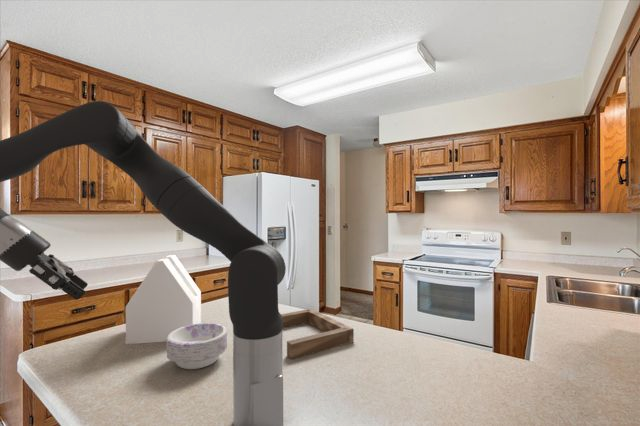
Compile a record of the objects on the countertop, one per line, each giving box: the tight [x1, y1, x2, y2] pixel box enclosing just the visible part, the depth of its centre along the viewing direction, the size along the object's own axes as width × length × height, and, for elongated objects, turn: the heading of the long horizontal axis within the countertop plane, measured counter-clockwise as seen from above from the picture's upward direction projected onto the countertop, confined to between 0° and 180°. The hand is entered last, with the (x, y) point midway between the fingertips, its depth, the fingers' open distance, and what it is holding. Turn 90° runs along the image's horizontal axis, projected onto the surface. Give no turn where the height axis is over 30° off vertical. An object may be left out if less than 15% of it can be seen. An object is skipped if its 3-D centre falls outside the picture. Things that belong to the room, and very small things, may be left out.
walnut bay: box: [280, 308, 355, 360], centre depth 105 cm, size 25×22×4 cm
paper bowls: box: [166, 322, 228, 370], centre depth 88 cm, size 15×15×8 cm
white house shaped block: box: [125, 254, 202, 345], centre depth 109 cm, size 19×15×25 cm
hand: (83, 291), depth 73 cm, fingers open, 8 cm apart
